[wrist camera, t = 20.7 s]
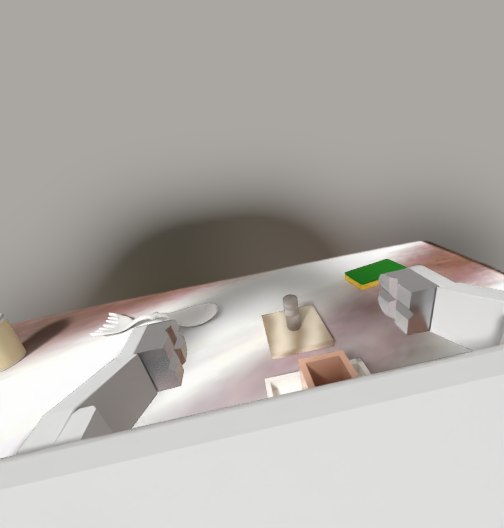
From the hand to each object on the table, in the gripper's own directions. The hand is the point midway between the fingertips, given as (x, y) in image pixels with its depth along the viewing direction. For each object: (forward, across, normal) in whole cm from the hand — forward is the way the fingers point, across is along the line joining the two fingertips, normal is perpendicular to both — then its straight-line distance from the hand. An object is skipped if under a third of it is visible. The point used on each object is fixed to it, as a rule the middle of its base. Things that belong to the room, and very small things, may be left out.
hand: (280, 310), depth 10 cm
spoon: (+46, +27, +30) cm, 61 cm away
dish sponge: (+46, -32, +31) cm, 64 cm away
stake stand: (+32, -6, +30) cm, 44 cm away
